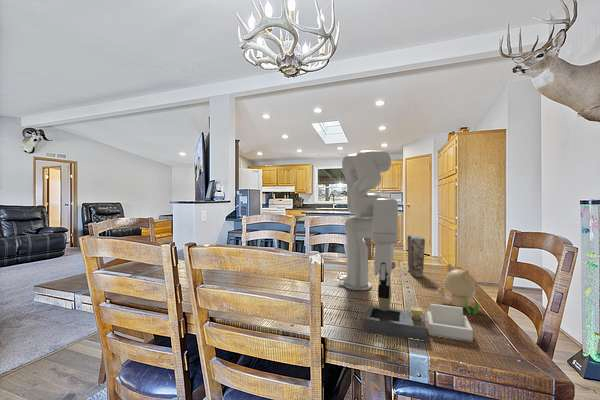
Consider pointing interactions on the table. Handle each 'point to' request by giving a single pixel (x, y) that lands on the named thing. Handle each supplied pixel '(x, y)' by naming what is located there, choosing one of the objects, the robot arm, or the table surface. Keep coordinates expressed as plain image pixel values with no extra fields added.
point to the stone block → (415, 255)
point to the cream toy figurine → (460, 288)
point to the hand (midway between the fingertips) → (384, 294)
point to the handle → (385, 302)
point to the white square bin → (449, 323)
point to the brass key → (416, 312)
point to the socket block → (395, 323)
